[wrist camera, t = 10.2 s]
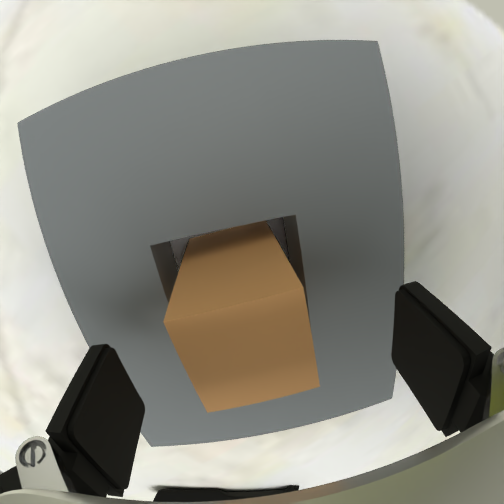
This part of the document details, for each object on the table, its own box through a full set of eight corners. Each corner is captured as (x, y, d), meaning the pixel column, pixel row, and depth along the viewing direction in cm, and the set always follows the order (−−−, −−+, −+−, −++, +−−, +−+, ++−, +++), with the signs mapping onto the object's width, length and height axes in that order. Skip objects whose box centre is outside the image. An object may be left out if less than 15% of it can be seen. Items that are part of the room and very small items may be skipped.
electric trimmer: (152, 477, 24) (149, 501, 21) (299, 481, 26) (304, 504, 23) (156, 490, 25) (154, 512, 22) (292, 494, 27) (296, 516, 24)
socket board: (347, 58, 13) (377, 41, 10) (372, 366, 20) (392, 398, 17) (53, 124, 13) (17, 122, 10) (157, 410, 20) (151, 446, 16)
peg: (264, 219, 16) (303, 287, 8) (280, 287, 17) (319, 386, 10) (189, 238, 16) (163, 321, 8) (211, 304, 17) (207, 412, 10)
